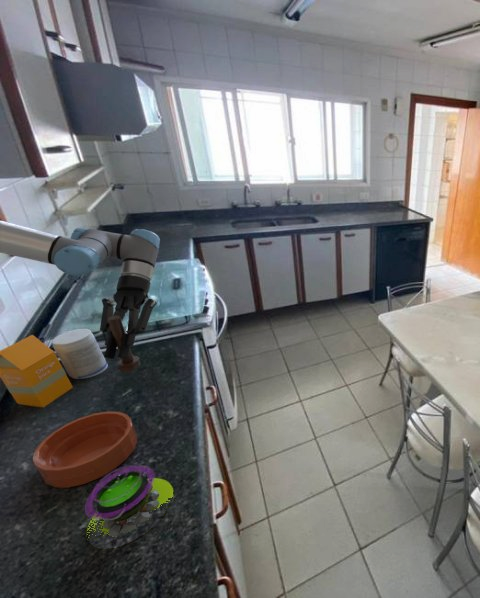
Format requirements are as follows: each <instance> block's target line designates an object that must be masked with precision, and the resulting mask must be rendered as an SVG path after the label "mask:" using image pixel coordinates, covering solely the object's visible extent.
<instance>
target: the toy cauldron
mask: <svg viewBox="0 0 480 598" xmlns="http://www.w3.org/2000/svg"><path fill="white" fill-rule="evenodd" d="M138 471H139V472H138ZM114 472H115V473H114ZM142 472H143V473H146V476H145V475H143V474H142ZM112 473H113V474H112ZM111 474H112V475H111ZM154 476H156V474H155V471H154V470H153V469H152V468H151V467H149V466H147V465H126V466H122V467H119V468H115V469H114V470H112V471H111V472H109V473H107V474H105V475H104V476H103V478H102V479H100V480H99V482H97V483H96V485H95V487H94V488H93V490H92V491H91V492H90V494H89V496H88V498H86V503H85V504H84V506H85V507H84V508H85V509H84V511H85V514H86V515H87V516H88V517H89V518H90V521H89V523H88V526H87V529H86V536H87V535H88V534H87V533H90V532H87V531H88V530H89V529H90V528H91V527H90V526H89V525H90V523H93V524H94V526H92V525H93V524H91V526H92V527H94V528H95V525H97V523H98V522H97V523H94V521H95V520H96V519H98V520H99V518H101V519H103V520H104V521H100V522H102V524H101V523H99V524H100V525H102V526H103V529H99V530H102V532H103V531H105V532H104V534H108V533H109V534H108V535H109V536H112V537H116V536H118V535H119V533H120V531H121V529H122V533H128V532H131V531H132V530H134V529H136V524H135V523H134V522H132V521H131V522H128V523H126V522H127V519H128V518H130V517H132V516H134V515H135V514H137V513H138V512H140V514H139V515H138V516H137V517H136V518H135V520H136V521H138V522H139V523H142V522H145V521H147V520H149V518H150V514H149V511H150V512H152V510H156V509H155V508H156V507H157V506H158V507H157V508H159V507H160V505H161V504H163V503H168V502H166V501H170V500H168V498H172V497H173V498H174V494H173V492H174V488H173V485H171V483H170V482H169V481H168V480H165V479H163V478H159V477H154ZM94 501H95V502H96V510H95V509H94V505H93V504H94ZM161 506H162V505H161ZM91 519H92V520H94V521H93V522H92V520H91ZM117 521H118V522H119V524H117V523H116V522H117ZM95 522H96V521H95ZM102 526H101V528H102ZM88 527H89V528H88ZM98 527H99V526H98ZM94 528H91V529H93V530H95V531H96V529H94ZM97 529H98V528H97ZM89 531H92V530H89ZM95 531H94V532H95ZM98 532H99V531H98ZM102 532H101V533H102ZM106 532H108V533H106ZM92 535H93V534H92ZM100 535H101V534H100ZM89 536H90V535H89ZM95 536H96V535H95ZM103 536H104V535H103ZM88 538H89V537H88Z"/></svg>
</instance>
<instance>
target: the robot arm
mask: <svg viewBox="0 0 480 598" xmlns="http://www.w3.org/2000/svg"><path fill="white" fill-rule="evenodd" d="M160 243H161V239H160V236H159V235H158V234H156V233H155V232H153V231H151V230H147V229H144V228H143V229H141V228H140V229H138V228H136V229H133V230H132V231H131V232H130V234H122V233H115V232H110V231H105V230H100V229H96V228H89V227H77V228H74V229H73V232H72V233H71V235H70V238H69V237H65V236H62V235H58V234H55V233H52V232H51V233H50V232H46V231H43V230H39V229H36V228H31V227H28V226H25V225H20V224H17V223H12V222H8V221H4V220H1V219H0V254H5V255H9V256H13V257H18V258H23V259H27V260H31V261H37V262H41V263H45V264H48V265H49V264H50V265H53V266H55V267H56V268H57V269H58V270H60V271H61V272H63V273H64V274H67V275H69V276H74V277H80V276H85V275H87V274H90V273H91V272H93V271H95V270H96V269H97V268H99V266H100V265H101V264H102V263H103V262H104V261H106V260H107V259H108V258H109V259H115V260H123V261H122V265H121V269H120V272H119V277H118V278H117V279H118V280H117V284H116V291H115V293H114V294H113V296H112V297H109V298H106V297H104V298H102V299H101V303H102V313H101V317H100V318H101V319H100V326H99V331H100V332H102V333H105V334H106V337H105V341H104V346H106V348H105V352H104V355H103V356H104V358H105V359H109V360H114V359H115V357H116V352H117V350H118V348H117V345H116V342H115V339H114V336H113V333H112V330H111V327H110V324H109V321H108V318H109V317H112V316H120V318H121V321H122V322H123V320H124V318H125V315H126V314H128V319H127V321H128V323H127V330H125V333H126V334H123V338H122V342H121V346H120V350H119V351H118V355H117V358H120V359H121V358H123V359H127V357H128V353H129V349H131V347H134V344H135V339H136V336H137V335H139V334H143V333H145V332H146V329H147V326H148V323H149V320H150V317H151V315H152V312H153V309H154V308H155V307H156V306H157V302H158V301H156V300H154V299H153V298H149V296H148V294H149V292H150V288H151V285H152V283H151V281H152V279H153V275H154V271H155V266H156V262H157V259H158V255H159V252H160V249H159V248H160Z"/></svg>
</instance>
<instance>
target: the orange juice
mask: <svg viewBox="0 0 480 598" xmlns="http://www.w3.org/2000/svg"><path fill="white" fill-rule="evenodd" d="M56 354H57V353H56V352H55V350H53V349H52V348H50V347H49V346H47V344H45V343H44V342H43V341H41V340H40V339H39V338H38V337H36V336H35V335H34V334H31V335H29V336H27V337H25V338H22V339H21V340H19V341H17V342H15V343H13V344H10V345H9V346H6V347H5V348H3V349H1V350H0V379H1V381H2V382H3V384H4V385H5V387H6V388H7V391H8V392H9V394H11V396H12V398H13V400H14V401H15V402H16V404H17V405H22V406H23V405H24V406H30V407H38V408H45V407H46V406H47V405H50V403H52V402H54V401H55V400H57V399H58V398H60V397H62V395H64V394H66V393H68V391H70V390H71V389H73V388H74V386H73V384H72V382H71V381H70V379H69V377H68V376H67V375H68V374H67V372H66V370H65V368H64V367H63V366H62V363H61V361H60V359H59V357H58V355H56Z"/></svg>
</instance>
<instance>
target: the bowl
mask: <svg viewBox="0 0 480 598" xmlns="http://www.w3.org/2000/svg"><path fill="white" fill-rule="evenodd" d="M137 445H138V434H137V432H136V428H135V426H134V424H133V420H132V418H131V417H130V416H129V415H128V414H127V413H124V412H121V411H109V410H108V411H101V412H95V413H91V414H89V415H85V416H81V417H78V418H77V419H75V420H72V421H70V422H68V423H66V424H64V425H62V426H61V427H59V428H58V429H56V430H54V431H53V432H51V433H50V434H49V435H48V436H46V438H44V439H43V440H41V442H40V444H39V445H38V446H37V448H36V449H35V450H34V452H33V457H32V462H33V463H34V465H35V467H36V469H37V471H38V472H39V474H40V476H41V478H42V480H43V481H44V483H45V484H46V485H48V486H51V487H54V488H64V489H66V488H67V489H68V488H73V487H77V486H82V485H85V484H87V483H90V482H92V481H95V480H97V479H100V478H102V477H105V476H106V475H107V474H110V473H111V472H112V471H114V470H116V469H117V468H118V467H119V466H121V465H122V464H123V463H124V462H126V460H127V459H128V458H129V457H130V456H131V454H132V453H133V452H134V451H135V449H136V447H137Z"/></svg>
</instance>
